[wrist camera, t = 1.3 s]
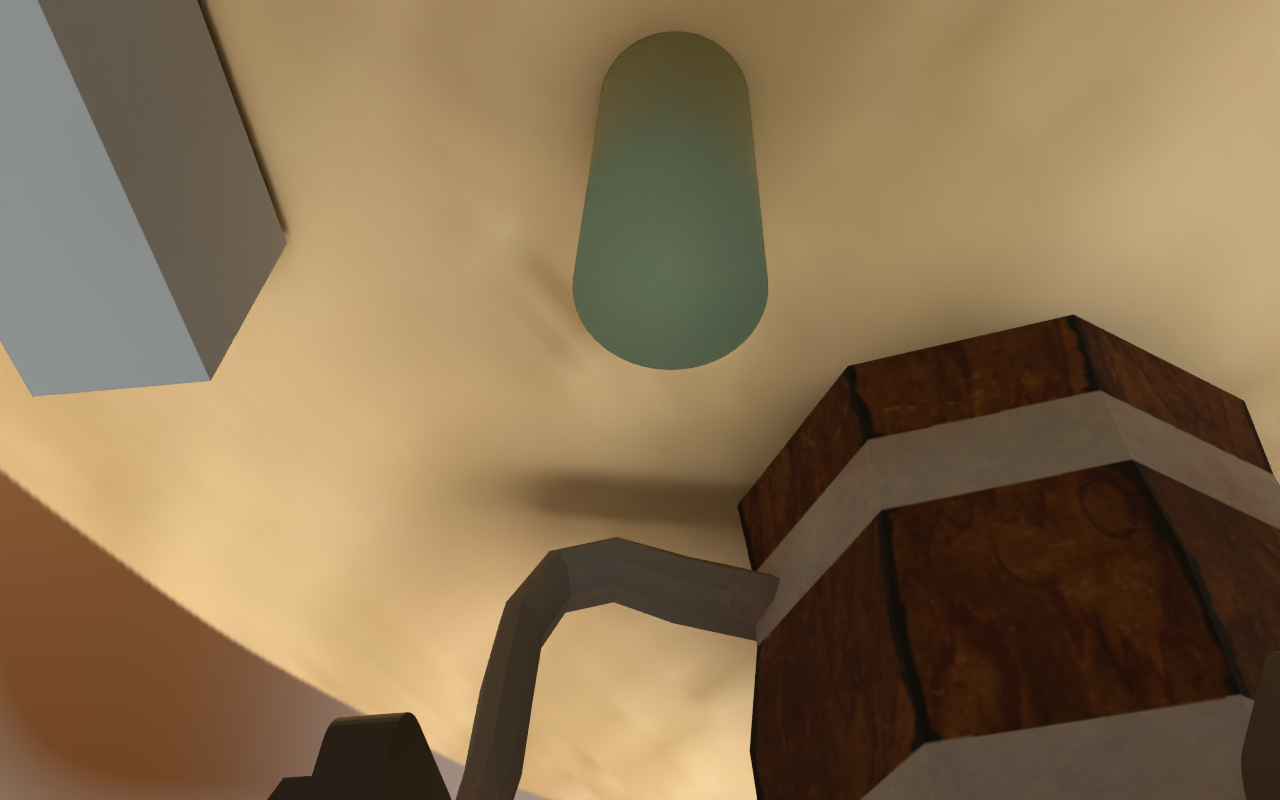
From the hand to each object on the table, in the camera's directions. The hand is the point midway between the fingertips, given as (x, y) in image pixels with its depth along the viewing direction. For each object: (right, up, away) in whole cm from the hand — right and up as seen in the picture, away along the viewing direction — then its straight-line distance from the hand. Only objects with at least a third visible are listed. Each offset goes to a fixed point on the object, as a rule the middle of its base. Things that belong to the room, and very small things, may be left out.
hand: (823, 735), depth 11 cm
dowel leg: (-1, +9, +12) cm, 15 cm away
